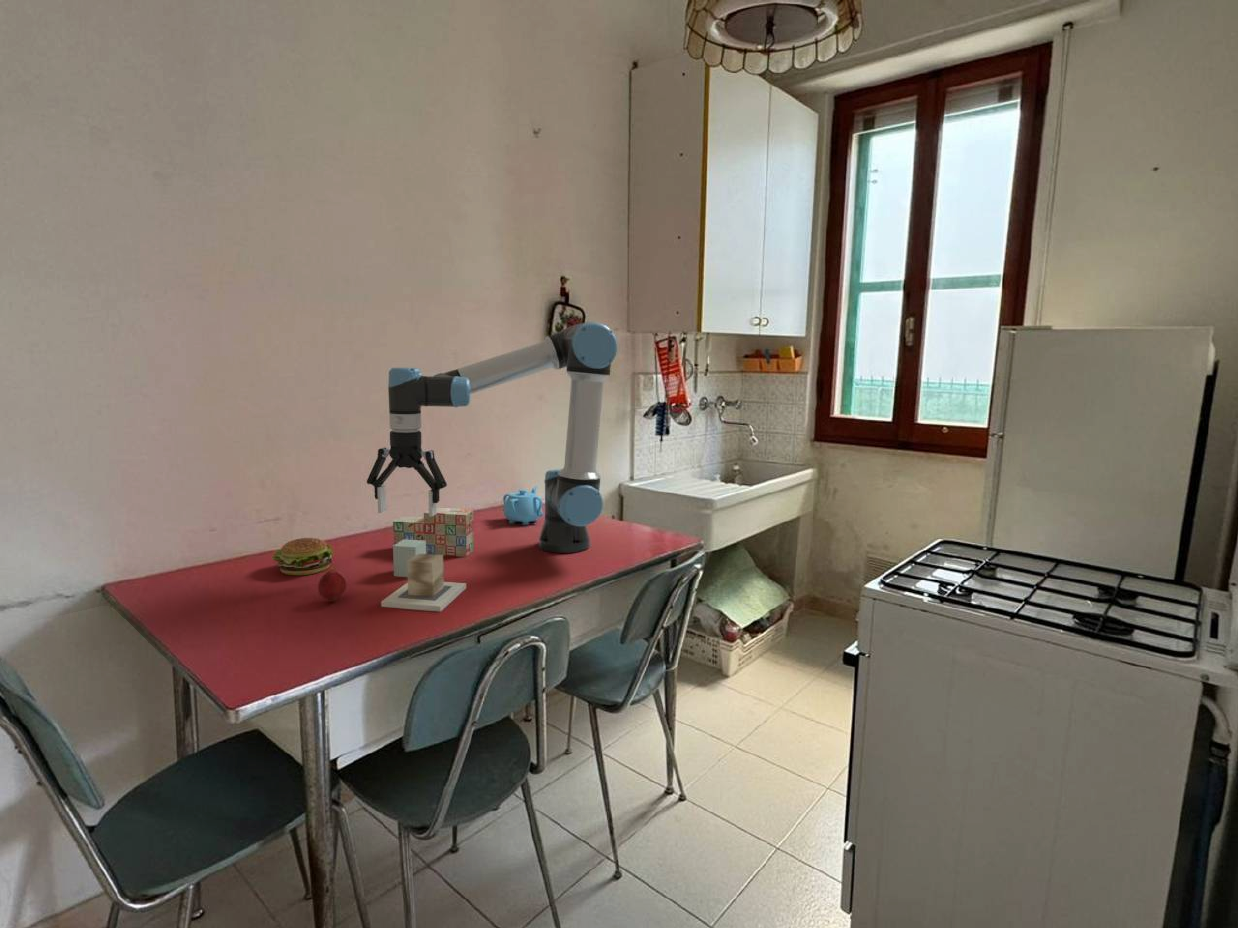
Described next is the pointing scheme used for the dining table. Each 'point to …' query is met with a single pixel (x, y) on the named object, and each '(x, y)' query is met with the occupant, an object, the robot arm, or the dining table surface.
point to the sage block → (406, 554)
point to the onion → (332, 585)
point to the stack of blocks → (439, 531)
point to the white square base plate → (424, 598)
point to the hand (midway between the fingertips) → (407, 513)
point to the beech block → (425, 575)
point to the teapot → (523, 506)
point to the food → (303, 556)
